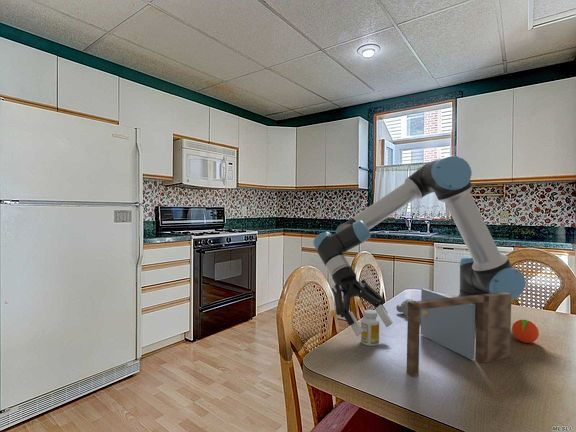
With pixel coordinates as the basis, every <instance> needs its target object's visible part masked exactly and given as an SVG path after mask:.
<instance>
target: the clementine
mask: <svg viewBox="0 0 576 432" xmlns="http://www.w3.org/2000/svg"><path fill="white" fill-rule="evenodd" d="M511 331H512V335H513V336H514V338H515V339H517V340H518V341H520V342H521V343H525V344H527V343H528V344H531V343H535V342H536V341H537V340H538V338H539V335H540V333H539V328H538V327H537V326H536V323H535V324H534V323H533V322H532V321H530V320H528V319H519V320H516V321H515V322H514V323H512V325H511Z"/></svg>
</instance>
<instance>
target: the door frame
mask: <svg viewBox="0 0 576 432" xmlns="http://www.w3.org/2000/svg"><path fill="white" fill-rule="evenodd" d="M511 295H512V294H510V293H506V292H501V293H491V294H481V295H471V296H462V297H458V296H454V297H453V296H451V297H452V298H442V299H432V300H422V301H421V300H413V302H408V317H407V325H406V326H407V329H406V330H407V332H406V333H407V334H406V337H407V338H406V371H405V372H406V374H407V375H408V376H409V377H412V378H413V377H418V376H419V372H420V369H419V366H420V335H421V321H420V309H429V308H438V307H447V306H455V305H464V304H473V303H477V316H476V320H475V352H474V360H475V361H476V362H479V363H481V364H484V363H488V362H493V361H498V360H503V359H504V360H505V359H508V358H510V356H511V331H512V325H511V323H512V300H511Z"/></svg>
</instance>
